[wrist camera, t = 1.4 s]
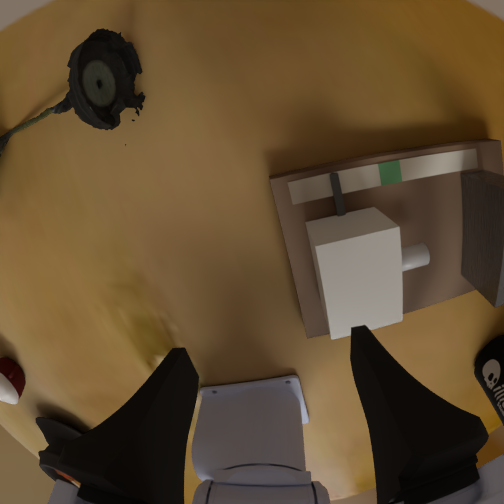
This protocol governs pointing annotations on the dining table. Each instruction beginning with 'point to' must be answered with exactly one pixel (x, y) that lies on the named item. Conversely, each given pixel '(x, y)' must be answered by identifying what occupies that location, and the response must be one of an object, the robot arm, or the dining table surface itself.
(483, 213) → the grey block
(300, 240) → the base
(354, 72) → the dining table surface
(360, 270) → the gauge carriage
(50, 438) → the casserole
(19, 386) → the cocoa
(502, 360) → the beverage can
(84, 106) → the artificial flower
